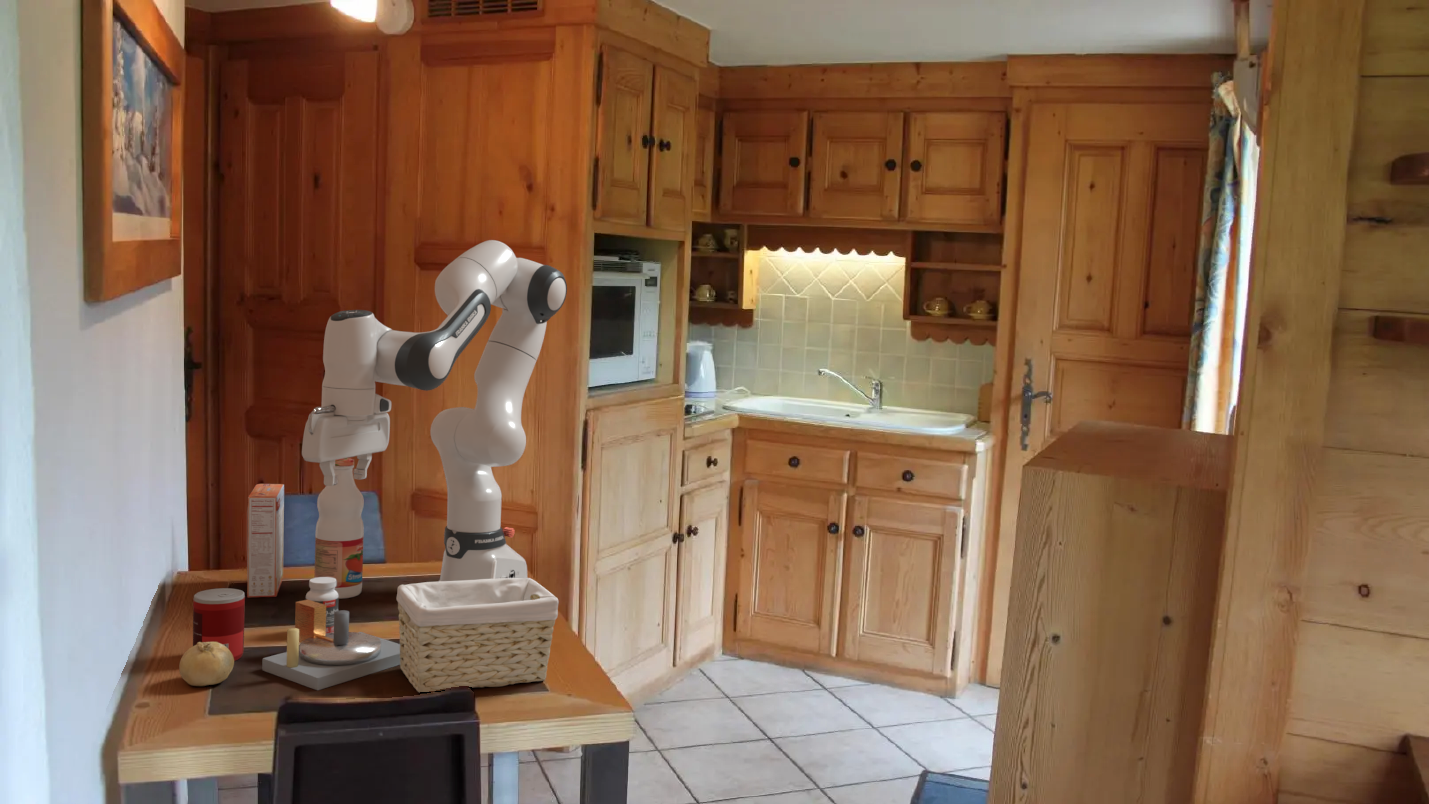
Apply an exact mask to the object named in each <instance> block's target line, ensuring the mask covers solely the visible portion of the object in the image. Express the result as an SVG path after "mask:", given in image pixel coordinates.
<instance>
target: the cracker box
mask: <svg viewBox="0 0 1429 804" xmlns="http://www.w3.org/2000/svg"><path fill="white" fill-rule="evenodd" d="M284 511H285V484H283V483H258V484H257V483H256V485H255V486H254V488H253V489H252V490H251V492H250V494H249V495H248V497H247V559H246V560H247V561H246V562H247V566H246V567H247V571H246V572H247V573H246V574H247V576H246V577H247V578H246V579H247V584H246V585H247V587H246V588H247V590H246V591H247V592H246V593H247V594H246V595H247V596H246V597H247V598H250V599H251V598H253V599H254V598H276V597H277V596H278V593H279V590H280V588H281V585H282V582H283V580H284V530H285V529H284V528H285V527H284V523H285V522H284V520H285V519H284V515H285V514H284V513H285V512H284Z"/></svg>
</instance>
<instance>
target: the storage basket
mask: <svg viewBox="0 0 1429 804" xmlns="http://www.w3.org/2000/svg"><path fill="white" fill-rule="evenodd" d="M534 580H535V579H532V578H531V577H527V578H526V579H523V578H498V579H479V580H462V581H439V580H438V581H439V582H438V581H426V582H418V583H409V584H400V585H399V586H397V594H396V597H395V598H396V601H397V609H398V612H399V614H398V620H399V624H398V625H399V626H398V628H399V644H400V665H399V666H400V668H399V669H400V670H401V671H402V673H403V674H404V675H405V677H406V678H407V679H408V682H409V683H410V684H411V685H412V686H413V688H414V689H415V690H416V692H417V693H420V692H429V691H436V690H440V689H446V688H451V687H459V686H469V687H472V688H485V687H486V688H487V687H488V688H498V687H506V686H508V685H514V684H520V683H521V684H522V683H523V684H524V683H525V684H527V683H531V682H542V681H545V680H546V679H547V671H548V665H549V664H548V663H549V660H550V653H551V645H552V641H553V633H554V626H555V623H556V620H557V619H558V615H559V611H558V609H559V602H560V601H559V599H558V597H556V596H555V595H554V594H553V593H552V592H550V591H549V590H548V589H546V587H544V586H542V585H541V583H538V581H536V580H535V581H534Z"/></svg>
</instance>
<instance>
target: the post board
mask: <svg viewBox="0 0 1429 804" xmlns="http://www.w3.org/2000/svg"><path fill="white" fill-rule="evenodd" d="M349 627H350V611H349V610H345V609H343V610H341V609H340V610H338V611H335V612H334V639H333V643H334V644H337V645H343V644H347V643H348V639H349V632H350V628H349ZM357 633H365V632H363V631H358V632H357ZM365 634H367V633H365ZM286 635H287V637H286V651H285V652H281V653H277V654H274V655H271V656H266V657H263V658H262V662H261V663H262V665H261V666H262V668H261V671H264V672H266V673H269V674H271V675H274V676H277V677H280V678H282V679H285V680H287V681H291V682H294V683H297V684H298V685H302V686H303V687H307V688H310V689H313V690H315V691H321V690H324V689H326V688H329V687H333V686H336V685H340V684H342V683H346V682H349V681H352V680H355V679H358V678H361V677H365V676H368V675H371V674H374V673H378V672H381V671H384V670H387V669H390V668H393V667H397V666H400V643H397V642H394V641H391V640H388V639H385V638H381V637H378V636H376V637H377V638H379V639H380V640H381V652H380V654H379V655H378V656H377V657H375V658H373V659H371V660H368V661H365V662H360V663H355V664H347V665H323V664H315V663H311V662H308V661H305V660H303V659H302V658H301V657H300V642H299V629H298V628H295V627H291V628H287V632H286Z"/></svg>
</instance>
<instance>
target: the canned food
mask: <svg viewBox="0 0 1429 804" xmlns="http://www.w3.org/2000/svg"><path fill="white" fill-rule="evenodd" d="M245 600H246V596H245V592H244V591H243V590H241V589H238V588H227V587H225V588H223V587H221V588H219V587H218V588H211V589H206V590H201V591H198V592H196V593H195V594H194V595H193V603H192V604H193V605H192V606H193V609H192V620H193V621H192V647H193V646H195V645H197V643H198V642H218V643H220V644H222V645H224V646H226V647H227V648H228V649H229V650H230V652H231V653H232V655H233V658H234V662H235V661H239V659H241V658H242V657H243V654H244V649H245V647H244V646H245V645H244V644H245V612H246V609H245V607H246V606H245V605H246V604H245V603H246V601H245Z"/></svg>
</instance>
